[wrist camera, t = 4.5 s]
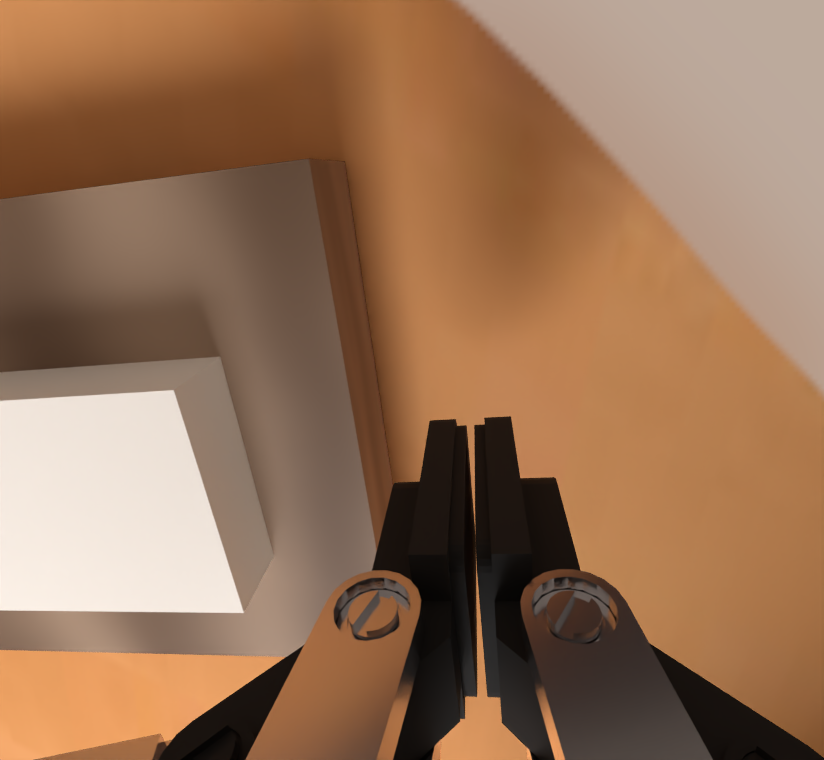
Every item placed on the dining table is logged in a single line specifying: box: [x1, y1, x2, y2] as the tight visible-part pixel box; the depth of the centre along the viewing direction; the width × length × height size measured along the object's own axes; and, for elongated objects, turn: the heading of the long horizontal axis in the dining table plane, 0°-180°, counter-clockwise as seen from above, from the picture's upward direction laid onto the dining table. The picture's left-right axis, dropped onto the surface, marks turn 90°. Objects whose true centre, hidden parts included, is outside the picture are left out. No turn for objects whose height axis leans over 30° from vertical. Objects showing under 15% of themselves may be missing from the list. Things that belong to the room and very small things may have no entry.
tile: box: [0, 357, 274, 613], centre depth 13 cm, size 9×6×2 cm, turn 97°
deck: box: [0, 159, 393, 657], centre depth 15 cm, size 14×14×3 cm
